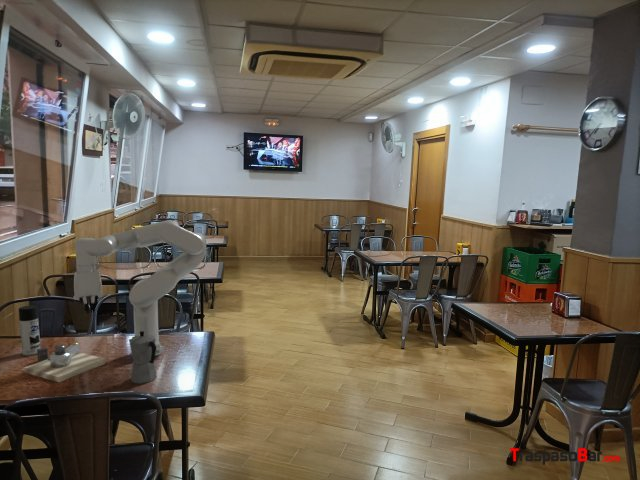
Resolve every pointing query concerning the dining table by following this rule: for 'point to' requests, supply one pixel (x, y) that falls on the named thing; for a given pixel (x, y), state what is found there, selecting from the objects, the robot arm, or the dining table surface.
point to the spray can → (29, 330)
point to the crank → (63, 354)
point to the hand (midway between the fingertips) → (89, 312)
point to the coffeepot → (143, 358)
